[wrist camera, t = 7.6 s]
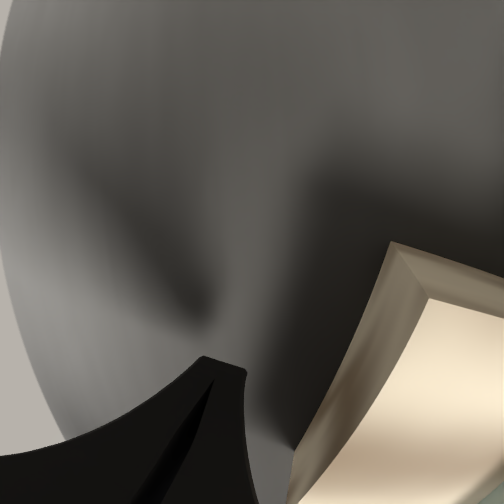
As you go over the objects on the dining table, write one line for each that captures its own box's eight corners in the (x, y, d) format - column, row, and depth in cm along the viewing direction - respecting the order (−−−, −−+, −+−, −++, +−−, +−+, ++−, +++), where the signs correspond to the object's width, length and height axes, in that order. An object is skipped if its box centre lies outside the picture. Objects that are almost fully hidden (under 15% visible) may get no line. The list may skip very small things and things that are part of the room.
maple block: (439, 462, 11) (450, 523, 8) (295, 446, 12) (282, 519, 9) (553, 295, 8) (607, 347, 4) (388, 237, 9) (429, 297, 5)
